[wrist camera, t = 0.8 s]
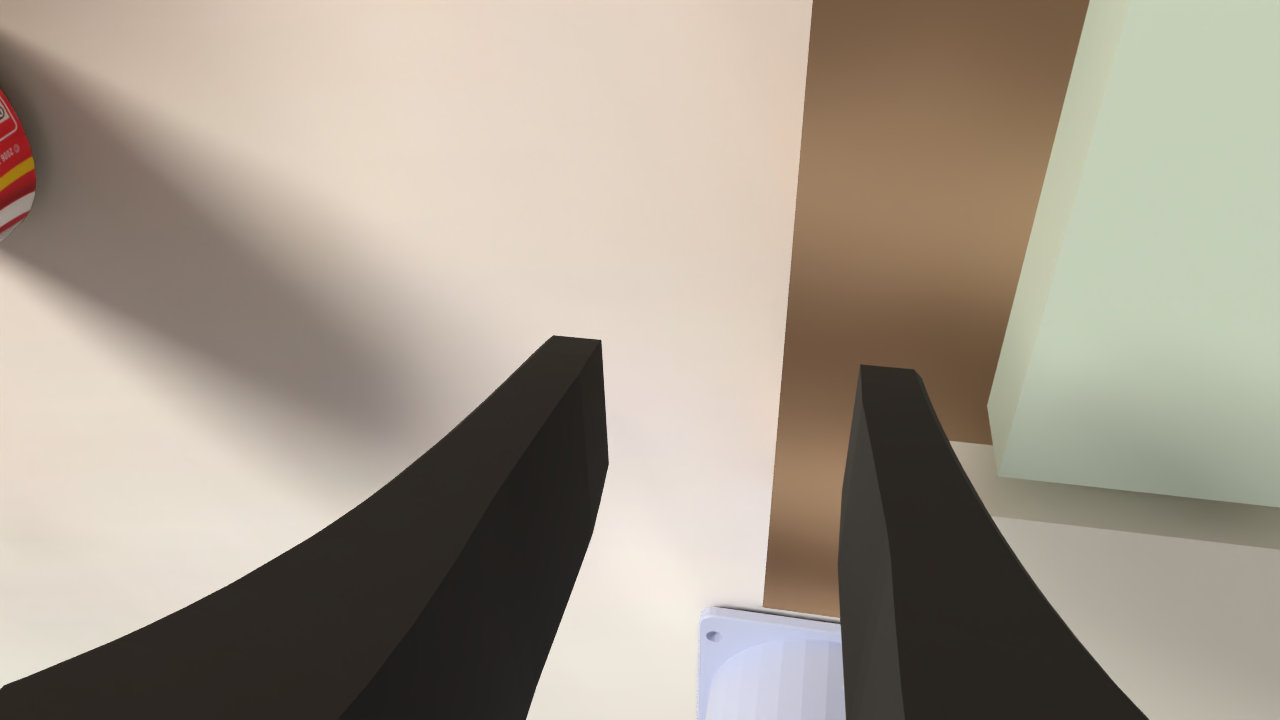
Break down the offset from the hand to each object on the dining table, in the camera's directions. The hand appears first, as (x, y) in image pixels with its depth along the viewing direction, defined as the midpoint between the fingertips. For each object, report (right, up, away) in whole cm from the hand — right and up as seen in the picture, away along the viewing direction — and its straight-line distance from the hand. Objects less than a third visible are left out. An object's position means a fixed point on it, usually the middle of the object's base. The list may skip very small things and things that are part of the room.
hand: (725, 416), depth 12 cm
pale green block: (+9, +3, +4) cm, 10 cm away
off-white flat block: (+8, -4, +9) cm, 13 cm away
